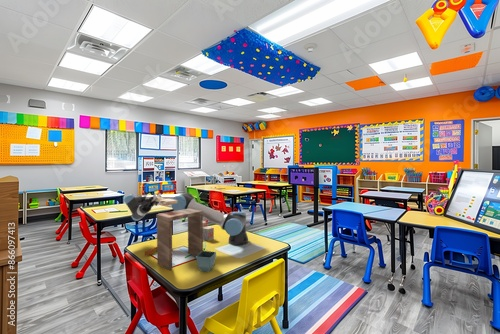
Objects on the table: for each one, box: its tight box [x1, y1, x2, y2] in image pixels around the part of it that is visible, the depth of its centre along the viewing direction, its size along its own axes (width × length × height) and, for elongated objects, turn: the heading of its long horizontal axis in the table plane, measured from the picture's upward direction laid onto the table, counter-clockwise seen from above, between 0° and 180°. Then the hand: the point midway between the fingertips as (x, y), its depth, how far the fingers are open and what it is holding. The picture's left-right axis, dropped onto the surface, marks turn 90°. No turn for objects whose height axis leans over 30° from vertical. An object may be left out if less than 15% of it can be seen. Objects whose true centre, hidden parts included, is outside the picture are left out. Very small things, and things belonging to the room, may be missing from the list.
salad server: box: [150, 196, 178, 206], centre depth 155 cm, size 26×7×2 cm, turn 50°
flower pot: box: [195, 250, 217, 273], centre depth 134 cm, size 9×9×9 cm
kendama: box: [144, 246, 157, 256], centre depth 164 cm, size 6×6×20 cm
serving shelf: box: [155, 208, 204, 271], centre depth 146 cm, size 24×14×30 cm, turn 140°
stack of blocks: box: [203, 220, 215, 242], centre depth 193 cm, size 21×6×12 cm, turn 46°
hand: (158, 195), depth 158 cm, fingers closed on salad server, 2 cm apart
